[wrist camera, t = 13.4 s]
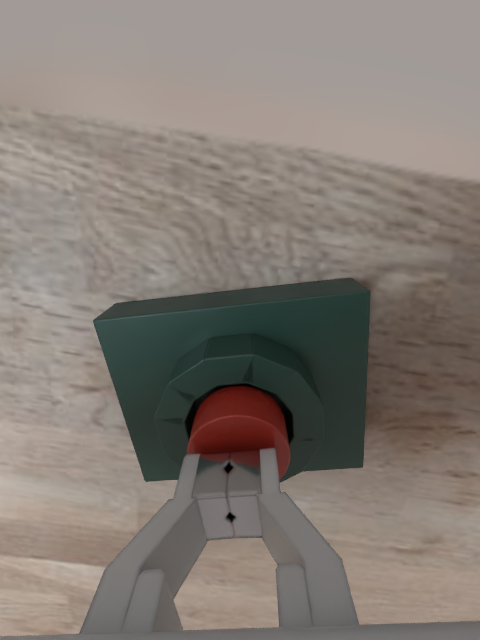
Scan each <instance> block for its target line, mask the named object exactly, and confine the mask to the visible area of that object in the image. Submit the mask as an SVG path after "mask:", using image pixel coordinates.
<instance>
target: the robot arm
mask: <svg viewBox="0 0 480 640" xmlns="http://www.w3.org/2000/svg"><path fill="white" fill-rule="evenodd" d="M231 538H262V539H263V541H264V543H265V544H266V546H267V548H268V550H269V551H270V553H271V555H272V557H273V558H274V560H275V562H276V563H277V565H278V567H277V568H276V582H277V598H278V614H279V627H273V628H241V629H211V630H183V628H182V625H181V622H180V619H179V616H178V613H177V610H176V607H175V604H174V601H173V599H174V597H175V596H176V594H177V592H178V590H179V589H180V587H181V585H182V584H183V582H184V580H185V579H186V577H187V575H188V574H189V572H190V570H191V569H192V567H193V565H194V564H195V562H196V560H197V559H198V557H199V555H200V553H201V552H202V550H203V548H204V547H205V545H206V543H207V540H219V539H231ZM0 640H480V621H460V622H430V623H400V624H369V625H359V622H358V618H357V614H356V611H355V607H354V603H353V599H352V596H351V592H350V588H349V584H348V581H347V577H346V573H345V569H344V566H343V562H342V559H341V558H340V556H339V555H338V554H337V553H336V552H335V550H334V549H333V548H332V547H331V546H330V545H329V543H328V542H327V541H326V540H325V539H324V537H323V536H322V535H321V534H320V533H319V532H318V530H317V529H316V528H315V527H314V526H313V524H312V523H311V522H310V521H309V520H308V519H307V517H306V516H305V515H304V514H303V513H302V511H301V510H300V509H299V508H298V507H297V506H296V504H295V503H294V502H293V501H292V500H291V498H290V497H289V496H288V495H287V494H286V493H285V492H283V493H281V492H280V483H279V474H278V466H277V457H276V450H275V448H266V449H254V450H242V451H230V452H214V453H200V454H186V455H185V457H184V459H183V463H182V467H181V471H180V475H179V479H178V483H177V487H176V491H175V495H174V499H170V500H168V501H167V502H166V503H165V504H164V505H163V506H162V508H161V509H160V510H159V511H158V512H157V513H156V514H155V515H154V516H153V517H152V518H151V520H150V521H149V522H148V523H147V524H146V525H145V526H144V527H143V528H142V529H141V530H140V532H139V533H138V534H137V535H136V536H135V537H134V538H133V539H132V540H131V541H130V542H129V544H128V545H127V546H126V547H125V548H124V549H123V550H122V551H121V552H120V553H119V554H118V556H117V557H116V558H115V559H114V560H113V561H112V562H111V563H110V564H109V565H108V566H107V568H106V569H105V570H104V573H103V575H102V578H101V580H100V583H99V585H98V588H97V590H96V593H95V595H94V598H93V600H92V603H91V605H90V608H89V611H88V613H87V616H86V618H85V621H84V623H83V626H82V628H81V631H80V633H79V634H58V635H28V636H0Z"/></svg>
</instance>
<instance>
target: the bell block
mask: <svg viewBox="0 0 480 640" xmlns="http://www.w3.org/2000/svg"><path fill="white" fill-rule="evenodd" d="M369 315H370V290H368V289H367V288H365V287H364V286H363V285H361V284H360V283H358V282H357V281H356V280H354V279H353V278H344V279H335V280H326V281H317V282H307V283H298V284H289V285H280V286H271V287H262V288H253V289H243V290H234V291H225V292H216V293H207V294H198V295H189V296H179V297H170V298H161V299H152V300H143V301H134V302H125V303H116V304H114V305H113V306H112V307H110V308H109V309H107V310H106V311H105V312H103V313H102V314H101V315H99V316H98V317H97V318H95V319H94V320H93V323H94V326H95V329H96V332H97V335H98V338H99V341H100V344H101V347H102V350H103V353H104V357H105V360H106V363H107V366H108V369H109V372H110V375H111V378H112V381H113V384H114V387H115V390H116V394H117V397H118V400H119V403H120V406H121V409H122V412H123V415H124V418H125V421H126V424H127V427H128V430H129V434H130V437H131V440H132V443H133V446H134V449H135V452H136V455H137V458H138V461H139V464H140V467H141V470H142V474H143V477H144V480H145V481H146V482H148V481H163V480H178V479H179V475H180V471H181V467H182V463H183V459H184V457H185V455H186V454H187V447H188V442H189V438H190V434H191V430H192V426H193V422H194V418H195V414H196V411H197V409H198V407H199V405H200V404H201V403H202V401H203V400H204V399H205V398H206V397H207V396H209V395H210V394H211V393H213V392H215V391H217V390H219V389H222V388H225V387H230V386H248V387H253V388H256V389H259V390H261V391H263V392H265V393H267V394H268V395H270V396H271V397H272V398H273V399H274V400H275V401H276V402H277V403H278V404H279V406H280V407H281V409H282V411H283V414H284V417H285V423H286V429H287V435H288V441H289V447H290V463H289V466H288V468H287V470H286V472H285V474H284V475H283V477H282V478H281V479H280V480H279V483H280V482H282V481H284V480H286V479H288V478H290V477H292V476H294V475H296V474H298V473H300V472H302V471H316V470H331V469H346V468H361V467H363V456H364V433H365V409H366V386H367V362H368V338H369Z"/></svg>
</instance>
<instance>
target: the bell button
mask: <svg viewBox="0 0 480 640" xmlns="http://www.w3.org/2000/svg"><path fill="white" fill-rule="evenodd" d="M266 448H275V450H276V457H277V466H278V474H279V480H280V479H281V478H282V477H283V475H284V474H285V472H286V470H287V468H288V466H289V463H290V447H289V441H288V435H287V429H286V423H285V417H284V414H283V411H282V409H281V407H280V406H279V404H278V403H277V402H276V401H275V400H274V399H273V398H272V397H271V396H270V395H268V394H267V393H265V392H263V391H261V390H259V389H256V388H253V387H248V386H230V387H225V388H222V389H219V390H217V391H215V392H213V393H211V394H210V395H209V396H207V397H206V398H205V399H204V400H203V401H202V403H201V404H200V405H199V407H198V409H197V411H196V414H195V418H194V422H193V426H192V430H191V434H190V438H189V442H188V447H187V454H200V453H214V452H230V451H242V450H254V449H266Z"/></svg>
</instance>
